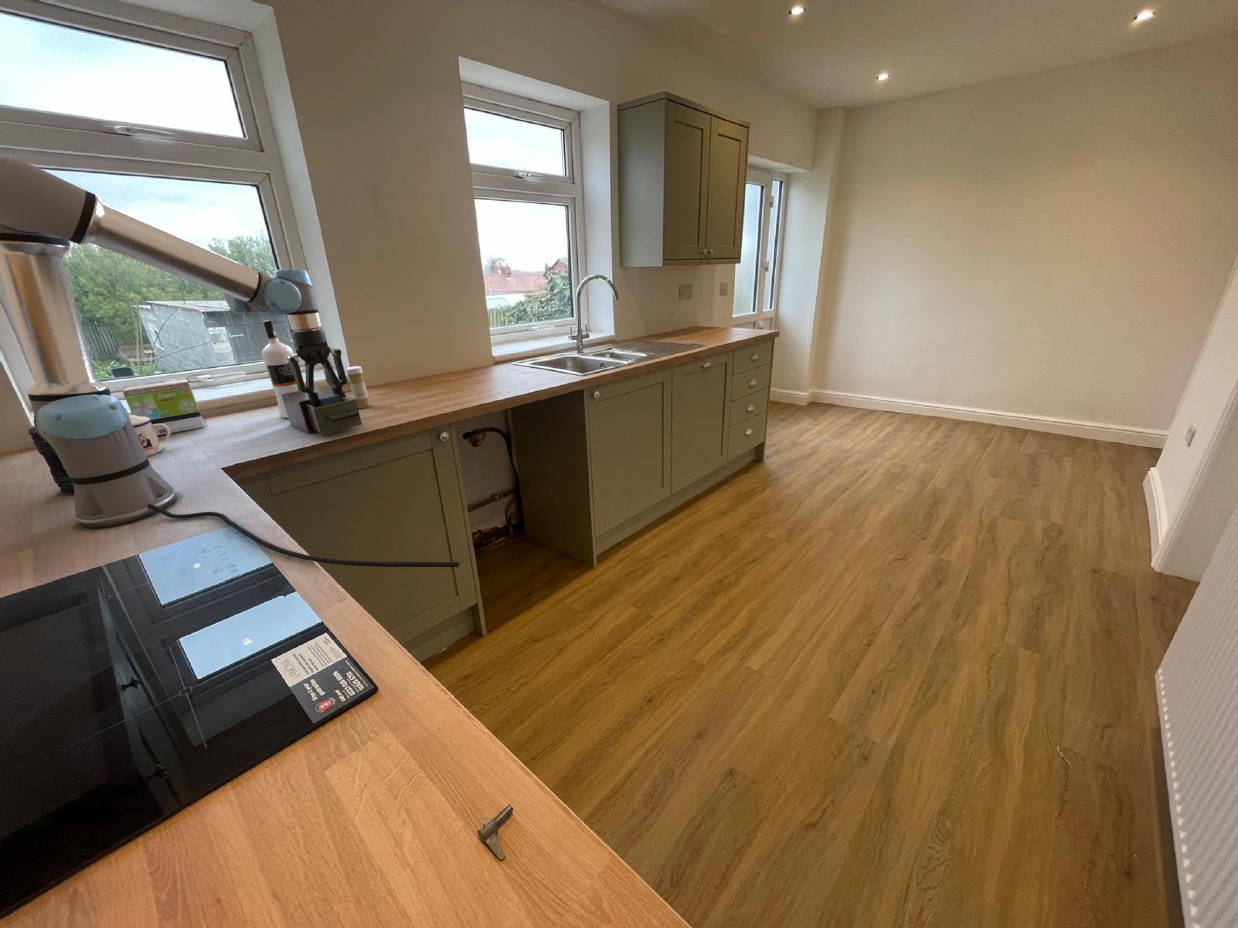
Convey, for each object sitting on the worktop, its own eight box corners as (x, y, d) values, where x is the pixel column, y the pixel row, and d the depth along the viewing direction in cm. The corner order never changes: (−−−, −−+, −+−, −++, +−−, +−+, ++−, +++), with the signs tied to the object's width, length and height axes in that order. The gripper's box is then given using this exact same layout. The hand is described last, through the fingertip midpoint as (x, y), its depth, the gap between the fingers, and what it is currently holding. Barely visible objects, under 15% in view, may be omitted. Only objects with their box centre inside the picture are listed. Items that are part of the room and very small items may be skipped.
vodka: (295, 410, 169) (266, 318, 158) (319, 410, 168) (292, 318, 156) (273, 418, 161) (241, 323, 149) (298, 419, 159) (267, 322, 147)
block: (343, 412, 145) (339, 395, 143) (325, 416, 142) (320, 399, 140) (336, 409, 148) (331, 392, 146) (318, 413, 145) (313, 396, 143)
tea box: (142, 440, 147) (120, 391, 141) (143, 432, 154) (121, 385, 148) (206, 427, 156) (187, 380, 150) (203, 420, 163) (186, 375, 157)
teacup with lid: (116, 463, 130) (95, 420, 125) (123, 453, 137) (104, 412, 132) (174, 451, 136) (157, 410, 131) (178, 442, 143) (162, 403, 138)
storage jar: (74, 481, 120) (43, 422, 114) (126, 473, 123) (98, 415, 117) (51, 498, 111) (15, 435, 105) (107, 489, 115) (76, 427, 109)
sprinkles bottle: (372, 404, 172) (362, 365, 166) (369, 408, 168) (359, 368, 162) (358, 405, 171) (347, 366, 166) (354, 409, 167) (344, 369, 162)
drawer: (369, 427, 145) (363, 401, 142) (328, 439, 137) (320, 412, 134) (343, 417, 156) (336, 392, 153) (303, 427, 148) (295, 401, 145)
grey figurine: (339, 400, 178) (330, 367, 173) (323, 401, 178) (314, 368, 174) (348, 396, 184) (339, 363, 179) (332, 396, 184) (323, 364, 179)
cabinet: (352, 422, 154) (344, 391, 150) (308, 433, 145) (298, 401, 142) (333, 414, 163) (325, 385, 159) (290, 424, 154) (281, 394, 150)
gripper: (336, 324, 144) (356, 402, 154) (265, 333, 132) (292, 417, 141) (347, 326, 140) (367, 406, 149) (275, 335, 127) (301, 422, 137)
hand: (330, 411), depth 145 cm, fingers closed on block, 5 cm apart
